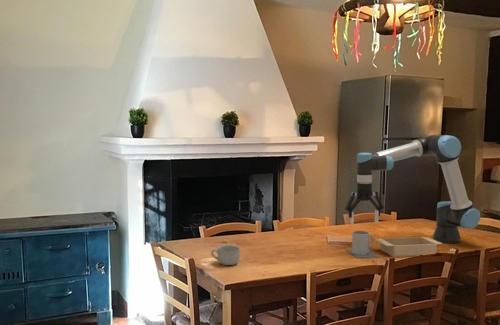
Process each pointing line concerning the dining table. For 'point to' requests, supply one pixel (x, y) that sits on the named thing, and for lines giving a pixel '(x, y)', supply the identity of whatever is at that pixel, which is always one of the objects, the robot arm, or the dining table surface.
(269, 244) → the dining table surface
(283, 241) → the dining table surface
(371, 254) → the coaster mat
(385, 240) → the beige tray
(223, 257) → the teacup
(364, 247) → the mug
